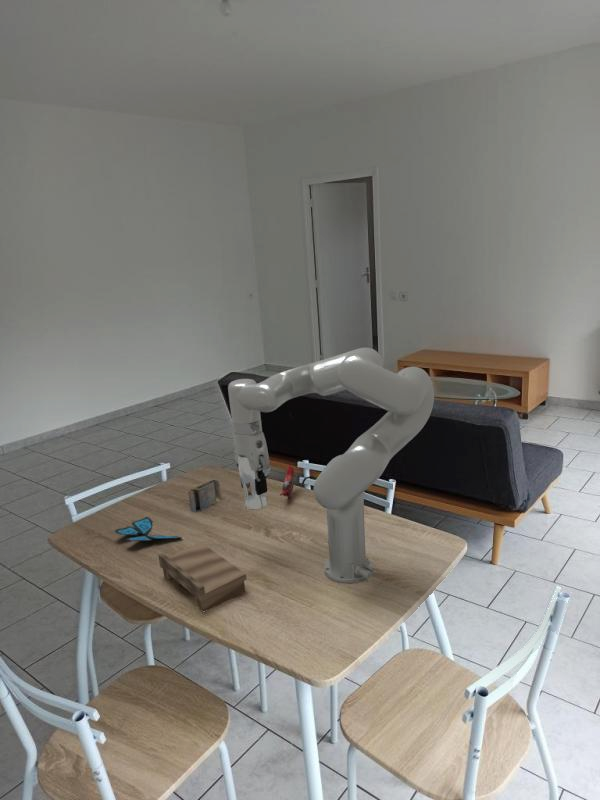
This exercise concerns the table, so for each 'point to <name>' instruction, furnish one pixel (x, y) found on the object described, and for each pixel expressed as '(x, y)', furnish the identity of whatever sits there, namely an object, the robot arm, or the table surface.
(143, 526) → the decorative butterfly
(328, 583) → the table surface
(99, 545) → the table surface
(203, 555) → the display ledge
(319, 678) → the table surface
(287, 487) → the decorative bird figurine
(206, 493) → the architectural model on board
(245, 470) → the beer glass
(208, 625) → the table surface
